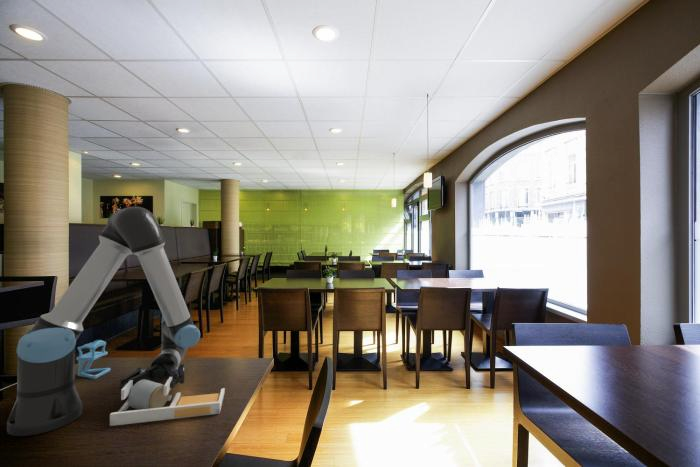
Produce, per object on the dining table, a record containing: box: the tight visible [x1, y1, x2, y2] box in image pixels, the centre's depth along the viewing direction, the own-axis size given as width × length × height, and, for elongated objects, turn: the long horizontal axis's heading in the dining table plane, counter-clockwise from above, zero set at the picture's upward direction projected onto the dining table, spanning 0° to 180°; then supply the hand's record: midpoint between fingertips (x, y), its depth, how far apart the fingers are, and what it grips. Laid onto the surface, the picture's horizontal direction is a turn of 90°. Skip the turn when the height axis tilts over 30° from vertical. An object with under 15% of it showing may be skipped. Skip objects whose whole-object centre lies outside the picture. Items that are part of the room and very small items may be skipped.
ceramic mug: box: [127, 380, 173, 410], centre depth 101 cm, size 11×8×8 cm
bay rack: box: [109, 387, 226, 427], centre depth 100 cm, size 27×14×3 cm, turn 104°
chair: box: [75, 339, 111, 380], centre depth 124 cm, size 8×8×12 cm
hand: (144, 392), depth 95 cm, fingers closed on ceramic mug, 10 cm apart
